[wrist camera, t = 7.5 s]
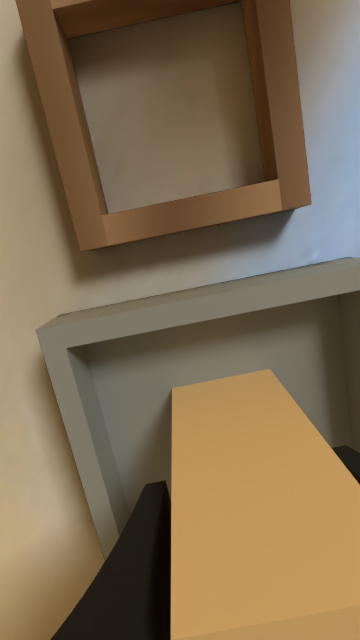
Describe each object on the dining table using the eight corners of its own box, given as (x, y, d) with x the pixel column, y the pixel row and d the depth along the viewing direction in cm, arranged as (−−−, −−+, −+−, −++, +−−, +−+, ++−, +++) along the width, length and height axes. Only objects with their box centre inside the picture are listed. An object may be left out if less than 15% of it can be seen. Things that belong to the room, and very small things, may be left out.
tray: (348, 257, 13) (387, 259, 11) (370, 505, 16) (405, 552, 14) (60, 314, 14) (35, 329, 11) (126, 550, 16) (118, 604, 14)
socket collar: (266, -41, 11) (280, -84, 10) (296, 208, 13) (311, 204, 12) (30, 10, 11) (9, -24, 10) (90, 250, 13) (79, 251, 12)
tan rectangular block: (269, 368, 14) (440, 590, 5) (283, 455, 15) (450, 775, 6) (172, 388, 14) (170, 639, 5) (191, 473, 15) (218, 815, 6)
